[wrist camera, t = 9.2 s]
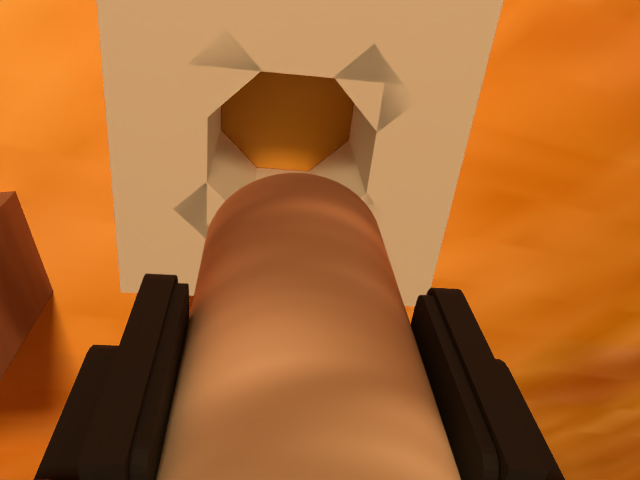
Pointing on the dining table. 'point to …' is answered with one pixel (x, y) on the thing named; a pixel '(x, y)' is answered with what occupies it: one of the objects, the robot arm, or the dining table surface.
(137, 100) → the bore block
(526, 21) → the dining table surface
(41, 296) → the walnut square bit
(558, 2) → the dining table surface
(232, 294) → the birch dowel
